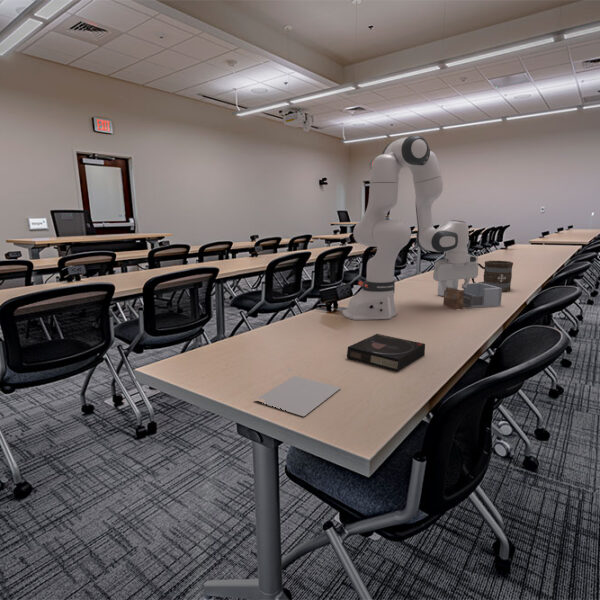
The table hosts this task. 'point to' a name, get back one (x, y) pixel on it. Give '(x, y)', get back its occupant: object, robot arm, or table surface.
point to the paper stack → (298, 395)
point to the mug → (497, 274)
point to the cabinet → (481, 295)
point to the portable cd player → (386, 352)
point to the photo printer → (448, 283)
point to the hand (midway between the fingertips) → (454, 289)
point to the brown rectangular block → (453, 298)
